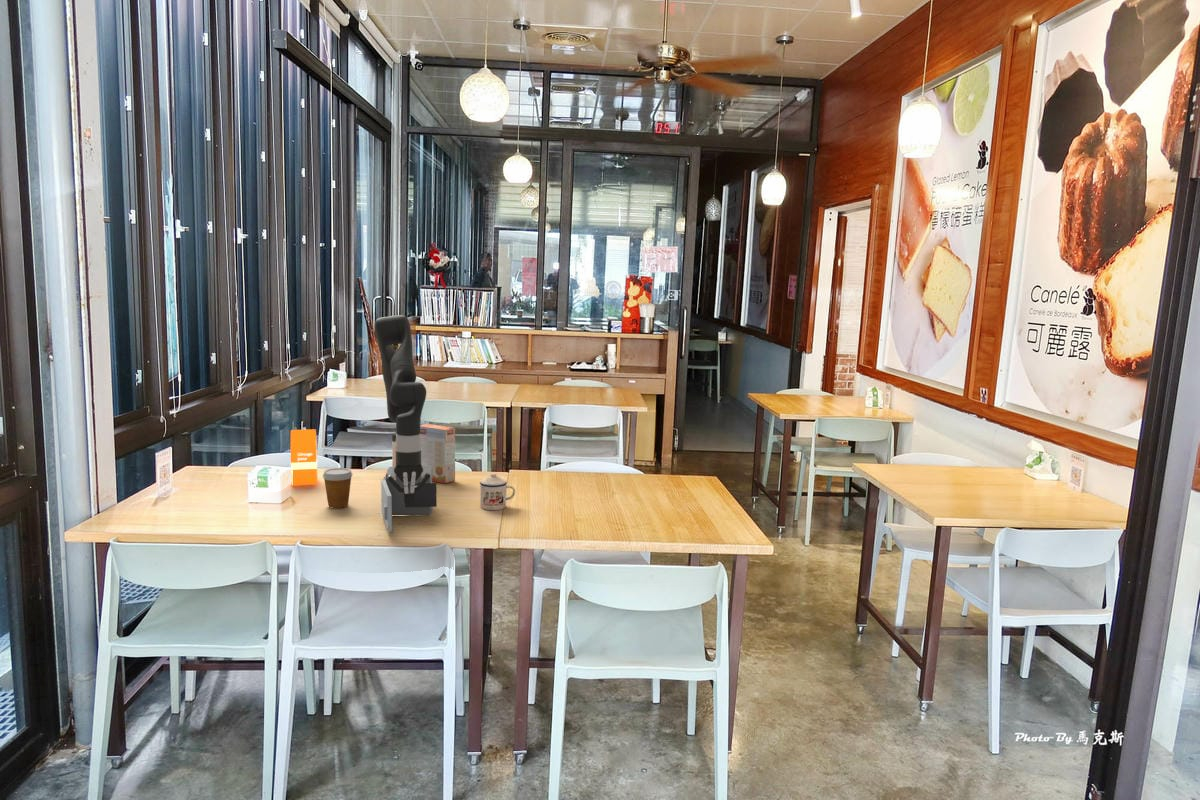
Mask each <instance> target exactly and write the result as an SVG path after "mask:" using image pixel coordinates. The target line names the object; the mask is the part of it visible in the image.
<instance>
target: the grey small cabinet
mask: <svg viewBox="0 0 1200 800" xmlns="http://www.w3.org/2000/svg"><path fill="white" fill-rule="evenodd" d="M422 468H423V471H425V472H428V473H429V475H430V477H429V479H428V480H427V481H426V483H425V484H424V485H423V487H422V488H421V489H420V490H419V491H416V492H414V503H412V505H407V504H405V502H404V493H403V492H399V491H398V490H397V489H396V488H395V487H394V486H393V484H392V483H391V482H390V481H389V480H388V478H387V476H388V475H390V474H392V473H393V472H394V469H395V467H392V466H389V467H388V468H387V471H386V473H385V476H383V479H385V480H386V483H387V485H388V488H389V491H390V493H391V500H392V515H427V516H426V517H429V516H428V515H430V514H432V509H433V508H437V507H438V506H437V497H438V496H437V495H438V494H437V492H438V491H437V483H438V482H433V481H432V467H422ZM421 475H422V473H421ZM421 475H420V476H419V478H418V479H417V480H416V481H415V486H416V485H417V483H418V482H419V481H420V479H421V478H422V477H421ZM395 477H396V482H397V483H398V484H399V485H400V486H401V487H403V482H402V481H401V480H400V479H399V478H398V477H397V475H396V476H395ZM408 491H409V482H408ZM430 516H431V515H430Z"/></svg>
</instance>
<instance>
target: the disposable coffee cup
mask: <svg viewBox="0 0 1200 800" xmlns="http://www.w3.org/2000/svg"><path fill="white" fill-rule="evenodd" d="M352 476H353V473H352V469H350V468H346V467H334V468H328V469H326V470H324V471H323V474H322V478H323V480H324V485H325V492H326V493H325V494H326V498H327V505H328V506H329V507H328V508H330V507H333V508H332V509H341V508H340V507H344V508H346V507H345V506H347V505H348V506H349V502H350V501H349V500H350V499H349V498H350V493H351V492H350V491H351V482H352ZM348 506H347V507H348Z"/></svg>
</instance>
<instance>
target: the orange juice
mask: <svg viewBox="0 0 1200 800" xmlns="http://www.w3.org/2000/svg"><path fill="white" fill-rule="evenodd" d="M317 445H318V442H317V430H316V429H313V428H312V429H291V430H290V470H291V469H293V485H294V486H295V487H296V486H312V485H313V486H314V485H317V484H318V478H319V477H318V449H317V447H318V446H317ZM294 486H293V487H294Z"/></svg>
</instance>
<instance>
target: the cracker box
mask: <svg viewBox="0 0 1200 800" xmlns="http://www.w3.org/2000/svg"><path fill="white" fill-rule="evenodd" d="M420 436H421V445H422V448H421V465H422V467H432V482H434V483H440V484H447V483H452V482H454V481H456V428H455V427H451V426H446V425H445V426H444V425H438V424H431V423H426V424H420Z"/></svg>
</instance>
